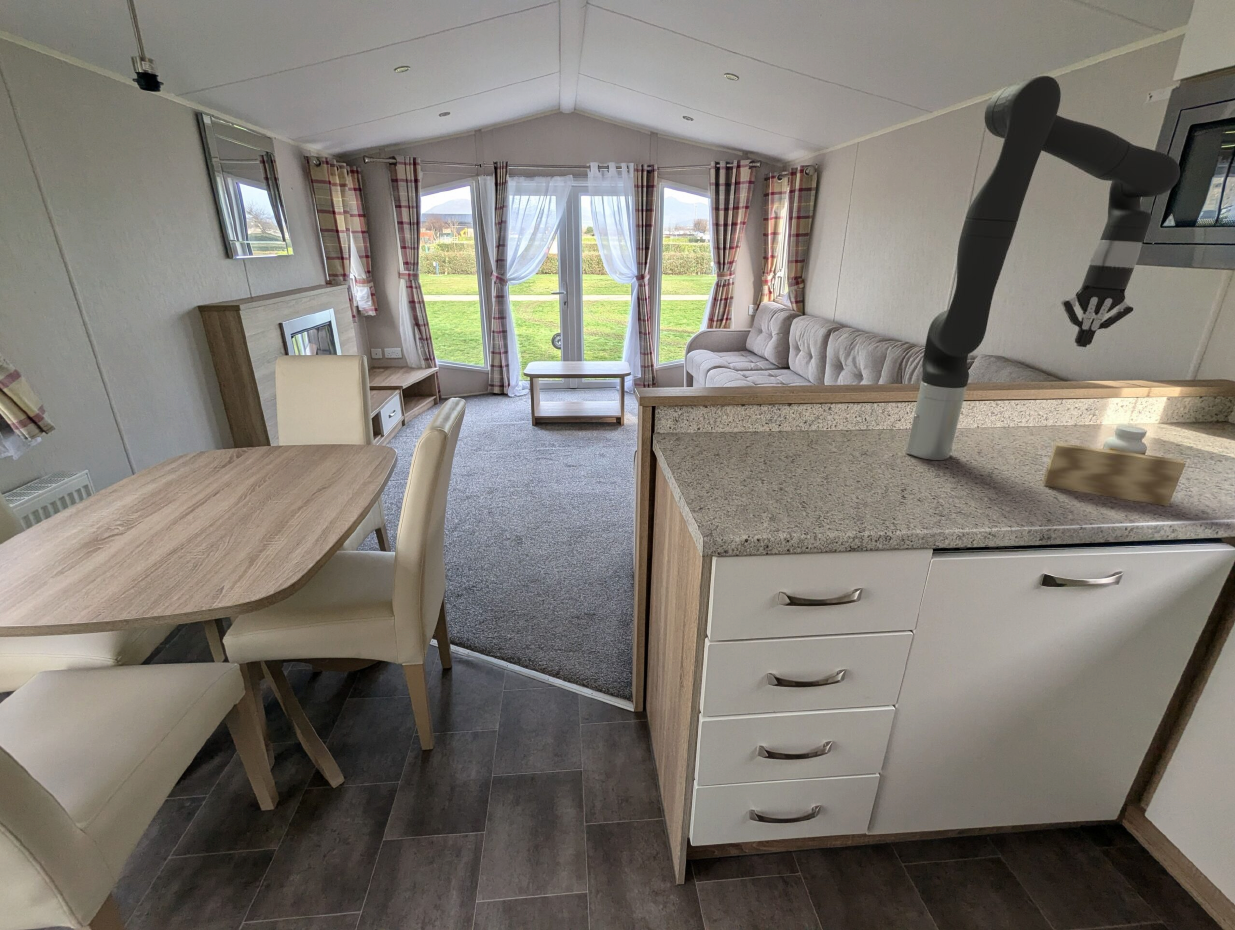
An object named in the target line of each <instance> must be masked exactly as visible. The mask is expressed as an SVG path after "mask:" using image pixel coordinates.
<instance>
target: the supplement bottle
mask: <svg viewBox="0 0 1235 930" xmlns="http://www.w3.org/2000/svg"><path fill="white" fill-rule="evenodd" d="M1147 432H1148V430H1147V429H1145V428H1142V427H1139V426H1134V425H1126V424H1119V425H1117V426H1116V427H1115V430H1114V436H1110V437H1108V438H1106V439H1105V441H1104V442H1103V443H1104V444H1103V445H1102V448H1101V449H1106V450H1114V451H1121V452H1128V453H1136V454H1143V455H1146V453H1147V451H1148V446H1147V444H1146V443H1145V442H1144V441H1143V439H1145V438H1146V435H1147Z"/></svg>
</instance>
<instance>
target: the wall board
mask: <svg viewBox="0 0 1235 930" xmlns="http://www.w3.org/2000/svg"><path fill="white" fill-rule="evenodd" d="M1186 465H1187V463H1186V462H1185V461H1184V460H1183V459H1179V458H1171V457H1165V456H1164V457H1163V456H1157V455H1150V454H1149V455H1148V454H1145V455H1143V454H1136V453H1128V452H1121V451H1114V450H1106V449H1102V448H1098V447H1090V446H1084V445H1083V446H1082V445H1077V444H1076V445H1075V444H1071V443H1070V444H1069V443H1064V442H1063V443H1061V442H1055V443H1054V445H1053V448H1052V451H1051V455H1050V458H1049V461H1048V464H1047V467H1046V470H1045V472H1044V473H1045V474H1044V476H1043V480H1042V484H1043V486H1044V487H1049V488H1056V489H1062V490H1067V491H1074V492H1079V493H1085V494H1090V495H1091V494H1092V495H1099V496H1103V497H1110V498H1116V499H1122V500H1127V501H1128V500H1129V501H1132V502H1133V501H1135V502H1140V503H1146V504H1152V505H1159V506H1164V507H1169V505H1170V503H1171V500H1172V498H1173V496H1174V493H1175V491H1176V489H1177V486H1178V484H1179V481H1180V479H1181V477H1182V474H1183V472H1184V470H1185V467H1186Z"/></svg>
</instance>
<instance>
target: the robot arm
mask: <svg viewBox="0 0 1235 930" xmlns="http://www.w3.org/2000/svg"><path fill="white" fill-rule="evenodd" d="M1061 92H1062V91H1061V87H1060V84H1059V83H1058V81H1057V80H1056V79H1055V78H1054V77H1052V76H1050V75H1040V76H1036V77H1033V78H1029V79H1025V80H1022V81H1019V82H1015V83H1012V84H1010V85H1008V86H1006V87H1004V88H1002V89H1000V90H998V92H996V93H994V95H993V96H992V98H991V99H990V100H989V101H988V103H987V105H986V108H985V111H984V117H983V119H984V124H985V126H986V129H987V130H988V132H989V133H991V134H992V135H993V136H995V137H997V138H1001V139H1004V140H1003V143H1002V146H1001V151H1000V152H999V153H1000V154H999V157H998V159H997V162H996V164H995V166H994V168H993V170H992V171H991V173H990V174H989V176H988V178H987V179H986V181H985V183H983V185H982V186H981V188H980V189H979V191H978V192H977V194H976V195H975V197H974V199H973V200H972V201H971V204H970V206H969V207H968V210H967V213H966V214H965V218H964V221H963V222H964V223H963V225H962V229H961V233H960V235H959V241H958V246H957V255H956V283H955V288H954V289H955V290H954V293H953V296H952V300H951V302H950V305H949V309H946V310H943V311H941V312H940V313H939V314H937V315H936V316H935V318H934V319H932V321H931V323H930V325H929V327H928V331H927V336H926V341H925V344H924V351H923V355H922V365H921V367H922V374H921V375H922V376H921V381H920V386H919V390H918V395H917V399H916V405H915V409H914V411H913V412H914V413H913V418H912V423H911V427H910V431H909V435H908V436H909V437H908V442H907V447H906V450H905V454H907V455H911V456H914V457H916V458H920V459H924V460H932V461H941V460H947V459H949V458H950V456H951V452H952V449H953V444H954V441H955V438H956V437H955V436H956V432H957V429H958V424H959V420H960V416H961V413H962V408H963V404H964V399H965V395H966V392H967V389H968V383H969V380H970V372H969V368H968V358H969V355H970V354H972V353H973V352H975V351H976V350H977V349H978V348H979V347H980V346H981V344H982V343H983V341H984V338H985V336H986V331H987V327H988V322H989V318H990V311H991V307H992V302H993V298H994V293H995V289H996V287H997V284H998V281H999V279H1000V275H1001V273H1002V269H1003V266H1004V263H1005V261H1006V257H1007V254H1008V251H1009V248H1010V245H1011V243H1012V240H1013V237H1014V233H1015V231H1016V228H1017V224H1018V222H1019V217H1020V215H1021V210H1022V206H1023V204H1024V201H1025V198H1026V195H1027V191H1028V189H1029V186H1030V182H1031V180H1032V177H1033V174H1034V171H1035V168H1036V166H1037V163H1038V159H1040V155H1041V153H1042V152H1044V153H1047V154H1048V155H1051V156H1053V157H1055V158H1058V159H1060V160H1062V161H1064V162H1066V163H1068V164H1070V165H1072V166H1074V167H1076V168H1078V169H1079V170H1081V171H1083V172H1084V173H1087V174H1088V175H1090V176H1092V177H1094V178H1096V179H1098V180H1102V181H1107V182H1108V181H1109V182H1110V186H1109V193H1108V204H1107V205H1108V206H1107V220H1106V223H1105V226H1104V228H1103V231H1102V234H1101V237H1100V239H1099V242H1098V244H1097V246H1096V248H1095V250H1094V252H1093V254H1092V256H1091V258H1090V260H1089V262H1090V263H1089V265H1088V268H1087V271H1086V273H1085V276H1084V279H1083V282H1082V285H1081V287H1080V289H1079V290H1078V291H1077V292H1076V293H1075V296H1073V297H1070V298H1069V299H1064V300H1062V301H1061V303H1060V304H1061V306H1062V308H1063V310H1064V312H1065V314H1066V316H1067V318H1068V320H1069V321H1070V324H1071V325H1073V326H1076V327H1077V328H1078V330H1077V333H1076V335H1075V338H1074V343H1075V344H1076V346H1077V347H1079V348H1087V347H1088V346H1090V345H1091V344H1092V343H1093V340H1094V338H1095V334H1096V333H1097V331H1098V330H1103V329H1104V330H1106V329H1108V328H1110V327H1112V326H1113V325H1114V324H1116V323H1118V322H1119V321H1120V320H1122V319H1123V318H1125V317H1127V316H1128V315H1130V314H1131V313H1132V312H1133V311H1134V307H1133V306H1130V304H1128V303H1127V302H1126V301H1125V300H1126V290H1127V287H1128V284H1129V283H1130V280H1131V277H1132V274H1133V273H1134V269H1135V267H1136V264H1137V262H1138V260H1139V257H1140V253H1141V248H1142V246H1143V242H1144V239H1145V237H1146V235H1147V232H1148V229H1149V227H1150V225H1151V222H1152V214H1151V213H1150V212H1148V211H1146V210H1142V209H1141V200H1142V198H1153V197H1158V196H1160V195H1162V194H1165V193H1167V192H1169V191H1170V190H1171V189H1173V188H1174V186H1176V184H1178V181H1179V179H1180V175H1181V169H1180V165H1179V163H1178V162H1177V160H1176V159H1175V158H1174V157H1172V156H1171V155H1168V154H1166V153H1163V152H1160V151H1156V150H1153V149H1151V148H1147V147H1143V146H1139V145H1135V144H1133V143H1131V142H1129V141H1128V140H1126V139H1125V138H1123V137H1121V136H1119V135H1118V134H1116V133H1114V132H1112V131H1110V130H1107V129H1105V128H1102V127H1099V126H1096V125H1093V124H1089V123H1084V122H1080V121H1077V120H1072V119H1069V118H1067V117H1066V118H1065V117H1063V116H1061V115H1059V114H1058V111H1059V109H1060V104H1061V97H1062V95H1061V94H1062V93H1061ZM1076 303H1077V304H1078V306H1079V309H1080V310H1081V311H1082V313H1081V319H1080V318H1079V316H1078V314H1077V312H1076V310H1075V308H1076V307H1077V304H1076ZM1114 309H1116V312H1114V313H1113V314H1111V315H1110V316H1109V317H1107V318H1106V319H1105V316H1106V314H1107V315H1108V314H1109V313H1111V311H1113V310H1114Z"/></svg>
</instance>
